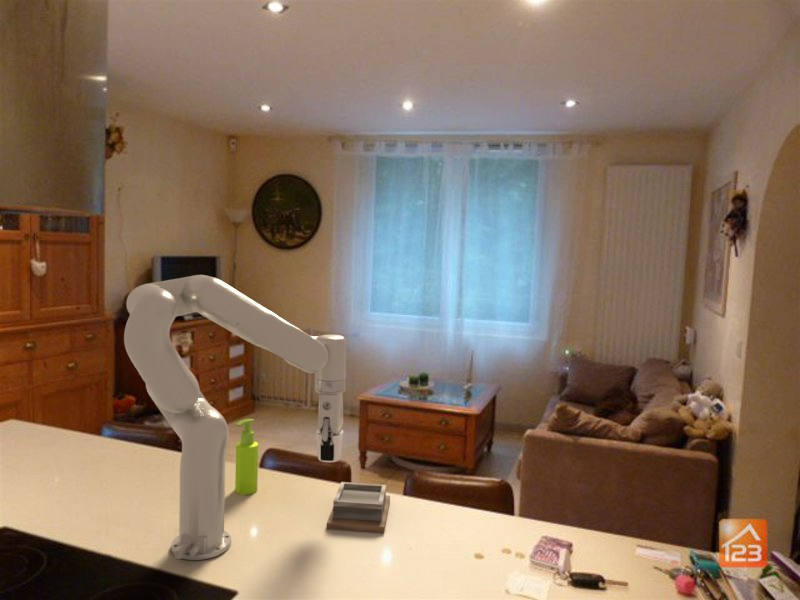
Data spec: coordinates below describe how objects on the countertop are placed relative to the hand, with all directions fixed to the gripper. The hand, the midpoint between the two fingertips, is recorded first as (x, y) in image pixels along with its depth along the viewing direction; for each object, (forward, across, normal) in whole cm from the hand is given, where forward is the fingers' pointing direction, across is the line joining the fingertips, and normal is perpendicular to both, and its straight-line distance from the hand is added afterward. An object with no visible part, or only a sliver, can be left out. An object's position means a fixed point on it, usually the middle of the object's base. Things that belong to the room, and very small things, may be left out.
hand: (329, 454), depth 147 cm
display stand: (+16, +2, -8) cm, 18 cm away
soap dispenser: (+16, +11, +25) cm, 32 cm away
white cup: (+1, 0, 0) cm, 1 cm away
